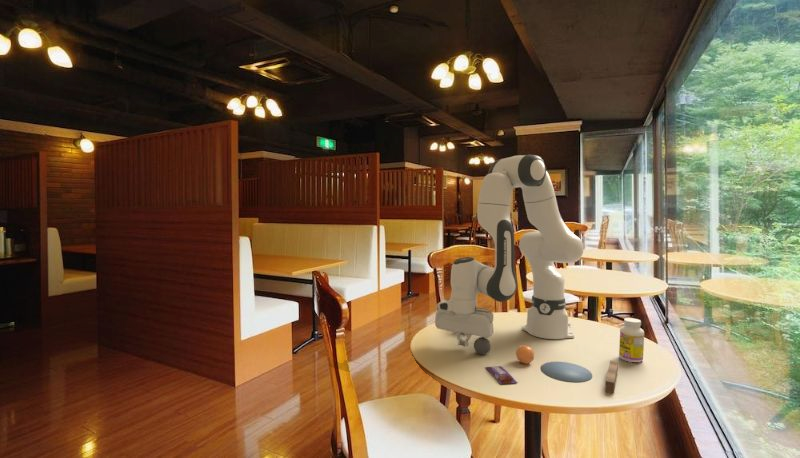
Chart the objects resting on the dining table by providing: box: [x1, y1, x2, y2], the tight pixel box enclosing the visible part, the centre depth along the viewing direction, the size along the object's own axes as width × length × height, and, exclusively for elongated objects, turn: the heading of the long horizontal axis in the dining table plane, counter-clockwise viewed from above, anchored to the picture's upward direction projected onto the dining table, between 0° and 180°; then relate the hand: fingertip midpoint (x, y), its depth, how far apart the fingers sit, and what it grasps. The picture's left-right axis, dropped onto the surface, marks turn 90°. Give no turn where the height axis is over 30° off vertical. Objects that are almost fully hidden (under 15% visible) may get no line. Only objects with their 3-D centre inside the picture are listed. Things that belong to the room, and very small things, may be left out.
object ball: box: [515, 344, 535, 365], centre depth 123 cm, size 6×6×6 cm
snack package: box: [485, 365, 518, 385], centre depth 114 cm, size 12×2×5 cm
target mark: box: [540, 361, 593, 383], centre depth 117 cm, size 14×14×1 cm
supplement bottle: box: [618, 317, 645, 363], centre depth 126 cm, size 7×7×13 cm
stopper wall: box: [604, 360, 619, 394], centre depth 111 cm, size 16×2×3 cm, turn 148°
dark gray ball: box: [473, 337, 492, 356], centre depth 131 cm, size 6×6×6 cm
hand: (463, 345), depth 135 cm, fingers closed
